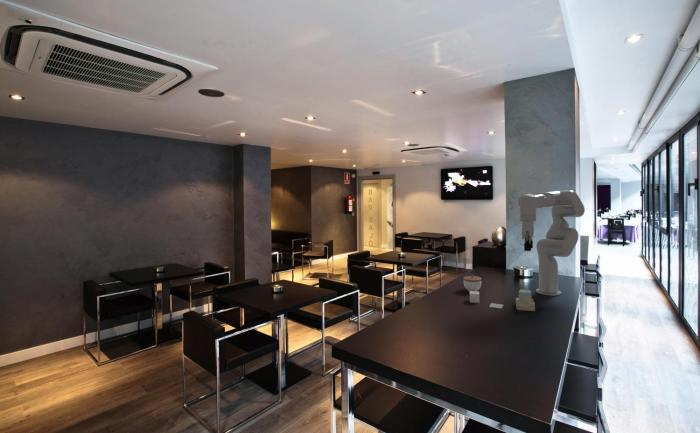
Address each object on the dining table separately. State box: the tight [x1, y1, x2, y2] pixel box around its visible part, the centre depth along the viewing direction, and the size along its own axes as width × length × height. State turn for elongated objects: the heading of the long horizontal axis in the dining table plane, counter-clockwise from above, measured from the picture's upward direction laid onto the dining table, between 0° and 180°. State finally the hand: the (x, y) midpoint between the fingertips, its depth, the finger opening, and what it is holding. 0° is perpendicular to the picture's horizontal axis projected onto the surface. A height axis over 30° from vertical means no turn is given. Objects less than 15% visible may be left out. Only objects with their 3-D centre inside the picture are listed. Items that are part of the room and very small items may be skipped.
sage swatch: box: [488, 302, 504, 310], centre depth 176 cm, size 6×6×1 cm
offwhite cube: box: [469, 290, 480, 304], centre depth 185 cm, size 5×5×5 cm
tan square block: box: [515, 297, 536, 312], centre depth 171 cm, size 8×8×4 cm
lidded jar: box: [462, 275, 482, 292], centre depth 206 cm, size 11×11×9 cm
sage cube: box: [518, 289, 532, 303], centre depth 171 cm, size 5×5×5 cm
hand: (528, 249), depth 180 cm, fingers open, 9 cm apart
